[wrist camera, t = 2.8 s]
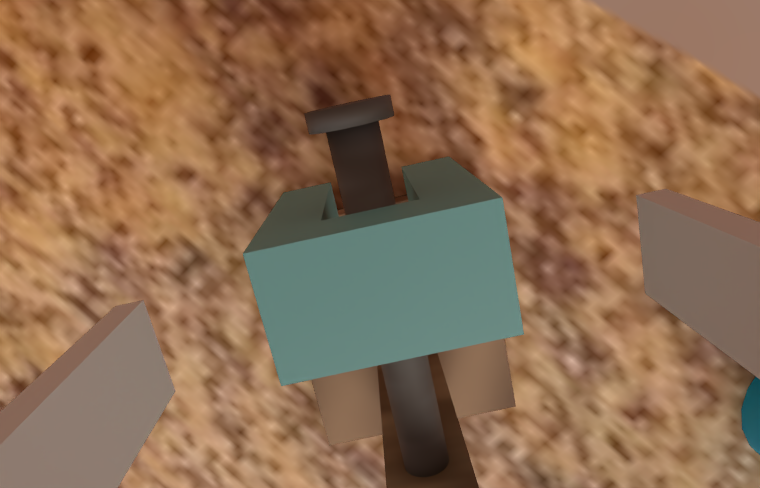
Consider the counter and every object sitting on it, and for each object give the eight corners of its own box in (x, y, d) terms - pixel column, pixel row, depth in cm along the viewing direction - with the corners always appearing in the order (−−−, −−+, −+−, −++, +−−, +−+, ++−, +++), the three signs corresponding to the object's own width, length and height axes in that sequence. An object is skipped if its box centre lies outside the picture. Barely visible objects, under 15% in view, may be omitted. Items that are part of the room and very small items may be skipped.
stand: (330, 432, 32) (313, 675, 19) (245, 120, 27) (143, 153, 14) (509, 394, 31) (619, 613, 18) (455, 74, 27) (549, 63, 14)
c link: (307, 281, 25) (281, 386, 16) (283, 192, 24) (242, 253, 15) (465, 247, 25) (524, 334, 16) (448, 156, 24) (502, 197, 15)
